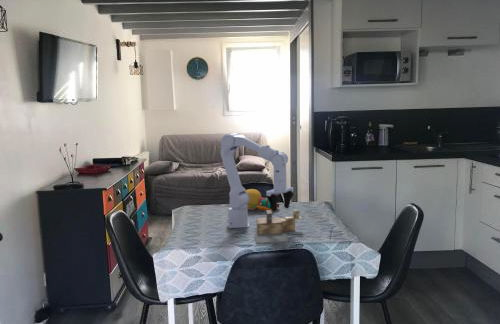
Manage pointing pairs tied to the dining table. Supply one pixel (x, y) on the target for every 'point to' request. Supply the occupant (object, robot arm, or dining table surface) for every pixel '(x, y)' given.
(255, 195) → the toy
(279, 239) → the mat
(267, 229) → the open wooden box
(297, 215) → the beige piece
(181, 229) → the dining table surface
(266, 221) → the lid
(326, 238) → the dining table surface
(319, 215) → the dining table surface
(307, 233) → the dining table surface
